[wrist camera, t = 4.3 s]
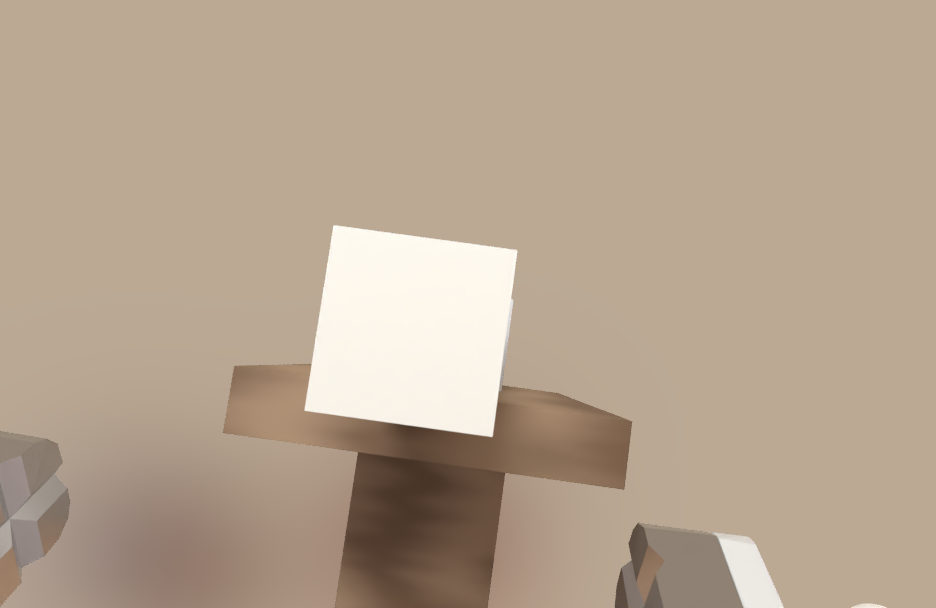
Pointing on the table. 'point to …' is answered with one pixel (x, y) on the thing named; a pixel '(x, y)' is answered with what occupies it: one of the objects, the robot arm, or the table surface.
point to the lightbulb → (868, 606)
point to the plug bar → (412, 331)
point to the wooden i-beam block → (431, 481)
